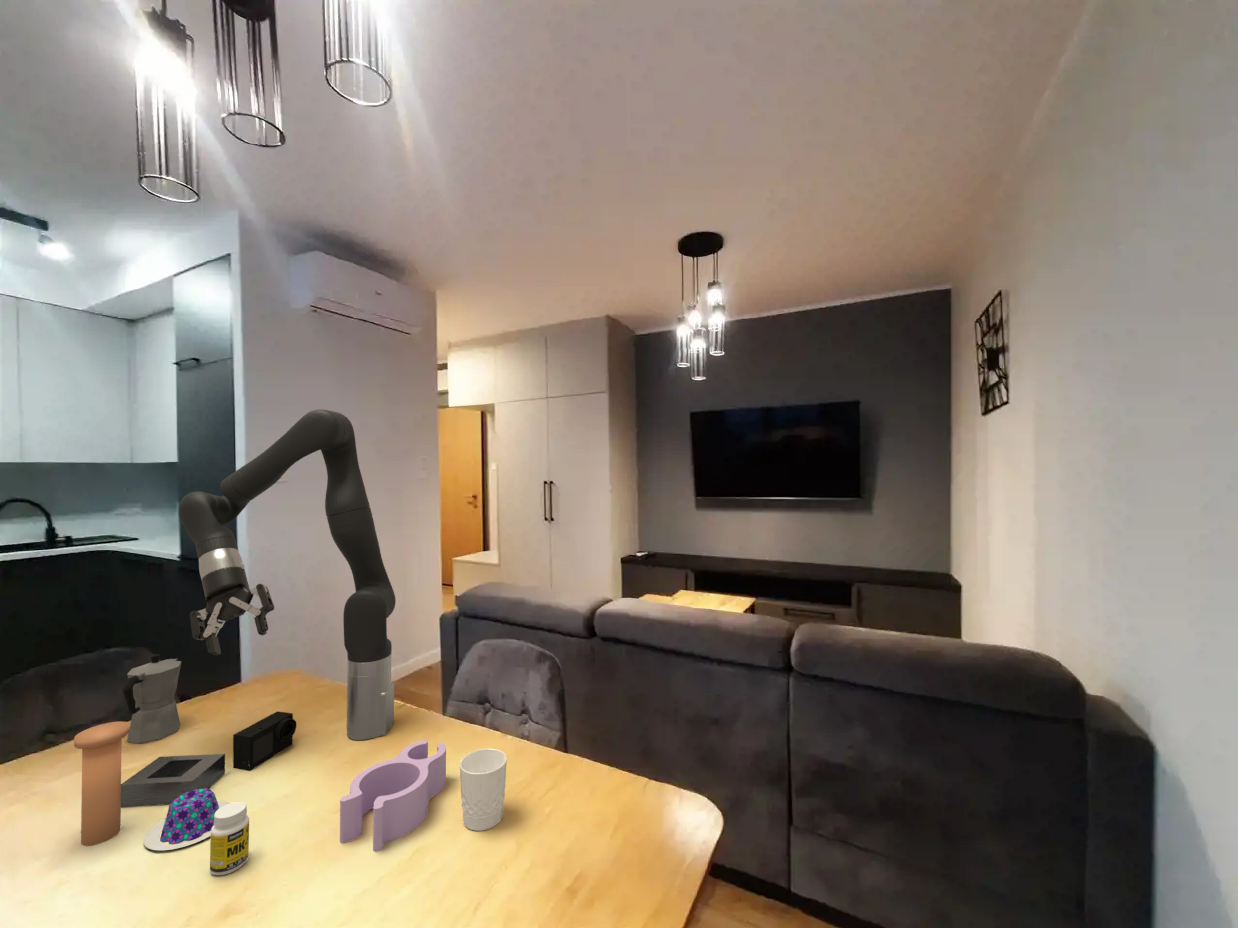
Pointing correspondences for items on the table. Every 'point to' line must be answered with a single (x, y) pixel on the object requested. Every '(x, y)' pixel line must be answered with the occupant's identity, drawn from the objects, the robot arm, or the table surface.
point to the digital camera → (263, 740)
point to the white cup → (483, 788)
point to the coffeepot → (152, 700)
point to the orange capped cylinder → (101, 781)
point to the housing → (171, 779)
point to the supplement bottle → (229, 838)
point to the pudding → (185, 820)
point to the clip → (394, 794)
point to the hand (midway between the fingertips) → (240, 643)
